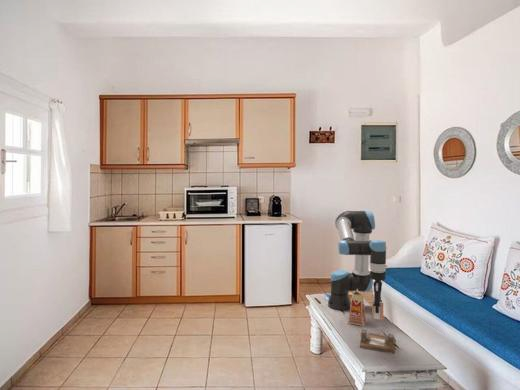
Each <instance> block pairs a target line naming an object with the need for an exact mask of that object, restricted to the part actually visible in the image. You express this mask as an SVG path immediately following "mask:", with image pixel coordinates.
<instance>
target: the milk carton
mask: <svg viewBox="0 0 520 390" xmlns="http://www.w3.org/2000/svg"><path fill="white" fill-rule="evenodd" d="M351 295H352V296H351V299H350V301H351V303H350V309H349V315H348V321H347V324H352V325H356V326H357V325H358V326H362V327H365V324H366V321H367V318H366V309H365V302H364V301H365V300H364V294H363V292H359V291H358V289H357V290H356V291H353V292H352V294H351Z"/></svg>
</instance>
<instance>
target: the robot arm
mask: <svg viewBox="0 0 520 390" xmlns="http://www.w3.org/2000/svg"><path fill="white" fill-rule="evenodd" d="M334 226H335V227H336V228H335V229H337V231H338V234H339V239H340V240H339V241H338V244H337V245H338V248H337V250H338V254H340V255H344V256H354V268H353V269H351V270H352V271H351V272H349V271H348V270H345V269H341V270H340V269H339V270H335V271H332V272H331V274H330V295H329V298H328V301H327V306H328V307H329V308H330V309H333V310H339V311H343V310H344V311H347V310H350V303H351V299H350V296H349V292H356V290H357V289H358V291H359V292H360V293H366V292H367V293H368V292H371V290H372V289H373V292H374V301H373V302H374V305H373V306H374V320H379V319H380V302H381V303H383V300H382V286H383V282H382V281H385V280H386V279H387V277H386V276H387V273H386V269H387V268H388V265H387V244H386V241H385V240H383V239H370V235H371V234H372V233H373V230H375V229H376V220H375V216H374V213H373V212H372V211H370V210H369V211H367V210H346V211H343V212H341V213H340V214H339V215H337V217H336V218H335V222H334ZM353 233H354V234H355V236H354V234H353ZM369 259H370V260H369Z"/></svg>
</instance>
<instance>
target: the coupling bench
mask: <svg viewBox="0 0 520 390" xmlns="http://www.w3.org/2000/svg"><path fill="white" fill-rule="evenodd" d="M395 339H396V338H395V336H394V334H393V333H388V335H387V334H382V333H381V334H379V333H376V332H369V331H367V330H366V329H362V330H361V332H360V341H359V348H362V349H368V350H373V351H378V352H384V353H389V354H394V353H395V341H396V340H395Z"/></svg>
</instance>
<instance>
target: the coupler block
mask: <svg viewBox="0 0 520 390" xmlns="http://www.w3.org/2000/svg"><path fill="white" fill-rule="evenodd" d="M373 305H374V301H372V305H371V309H372V311H371V313H372V314H371V317H372V319H374V306H373ZM374 320H375V319H374ZM378 320H381V321H383V320H384V302H380V319H378Z"/></svg>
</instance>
